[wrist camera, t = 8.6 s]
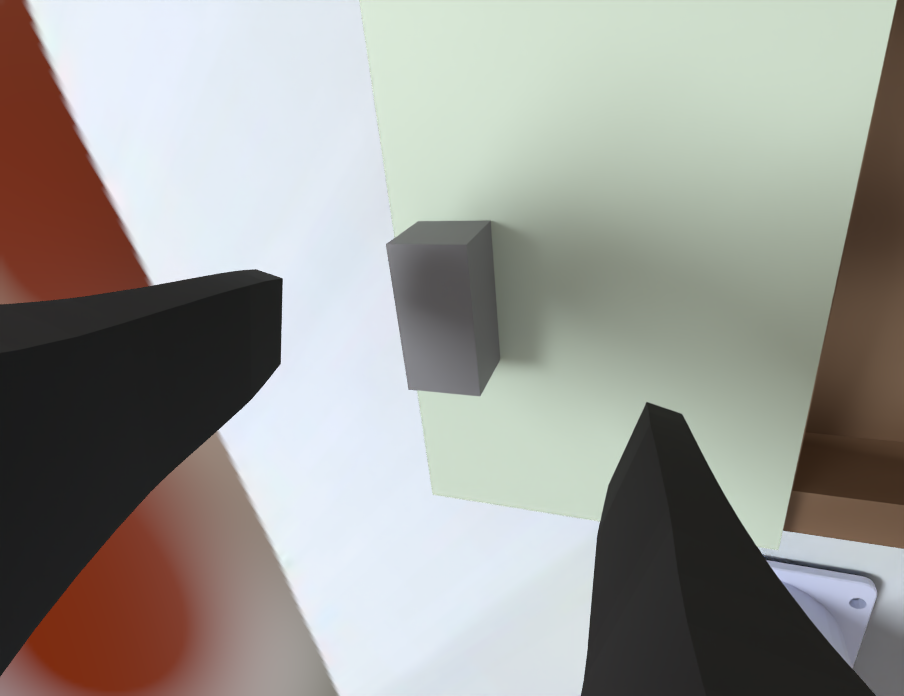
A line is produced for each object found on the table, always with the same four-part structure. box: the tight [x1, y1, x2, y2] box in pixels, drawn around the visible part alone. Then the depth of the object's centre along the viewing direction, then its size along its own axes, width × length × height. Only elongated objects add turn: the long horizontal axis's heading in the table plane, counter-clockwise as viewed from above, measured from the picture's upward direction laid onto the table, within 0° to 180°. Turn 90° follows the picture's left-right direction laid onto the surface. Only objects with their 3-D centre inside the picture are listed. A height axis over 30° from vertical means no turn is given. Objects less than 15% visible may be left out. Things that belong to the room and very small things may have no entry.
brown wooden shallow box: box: [783, 0, 904, 549], centre depth 15 cm, size 15×22×4 cm
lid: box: [359, 0, 897, 550], centre depth 14 cm, size 15×10×3 cm
